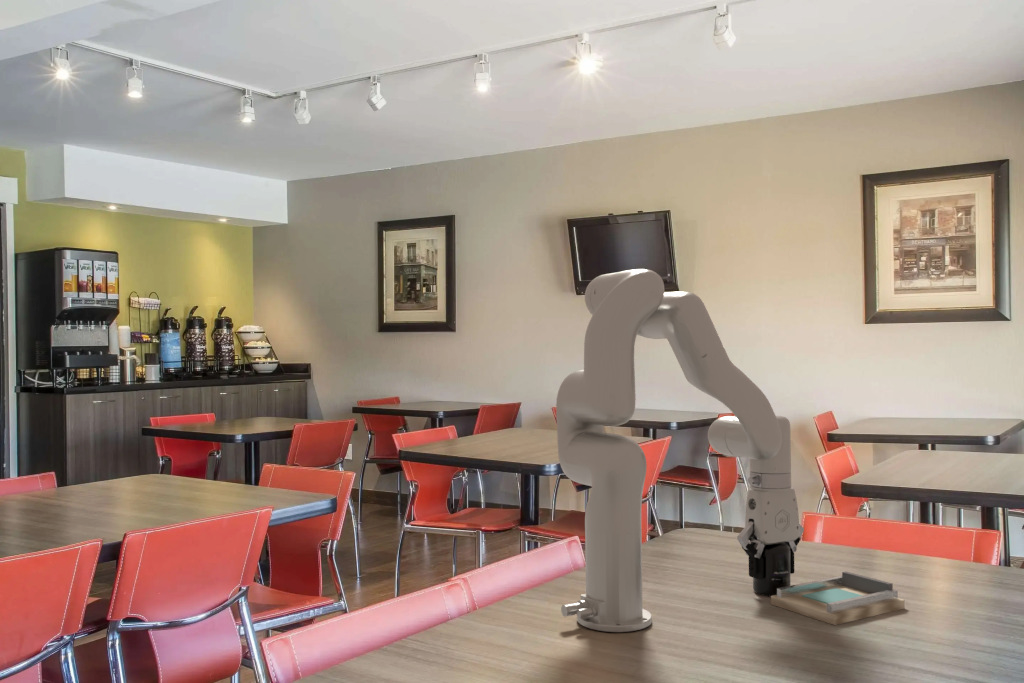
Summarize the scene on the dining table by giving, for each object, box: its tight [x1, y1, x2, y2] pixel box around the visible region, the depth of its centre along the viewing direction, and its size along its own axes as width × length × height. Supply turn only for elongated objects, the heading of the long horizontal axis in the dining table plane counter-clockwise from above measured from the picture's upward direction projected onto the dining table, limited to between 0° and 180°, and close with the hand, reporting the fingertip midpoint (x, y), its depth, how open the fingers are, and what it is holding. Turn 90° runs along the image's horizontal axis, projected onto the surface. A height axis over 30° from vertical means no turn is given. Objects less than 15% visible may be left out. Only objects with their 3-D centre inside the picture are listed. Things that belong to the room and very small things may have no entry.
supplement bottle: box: [752, 543, 791, 597], centre depth 163 cm, size 7×7×12 cm
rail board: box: [770, 571, 906, 626], centre depth 154 cm, size 18×14×4 cm
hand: (771, 574), depth 163 cm, fingers open, 7 cm apart
